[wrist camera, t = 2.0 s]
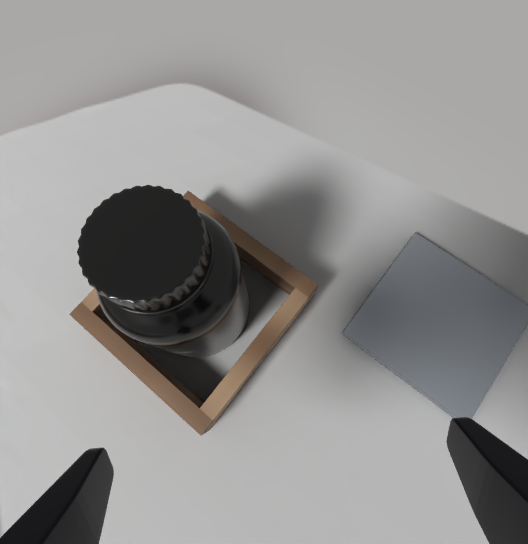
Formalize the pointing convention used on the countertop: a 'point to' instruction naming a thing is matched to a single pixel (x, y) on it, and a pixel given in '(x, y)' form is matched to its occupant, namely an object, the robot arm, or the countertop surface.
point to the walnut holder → (209, 411)
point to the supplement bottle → (165, 271)
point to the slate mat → (439, 326)
